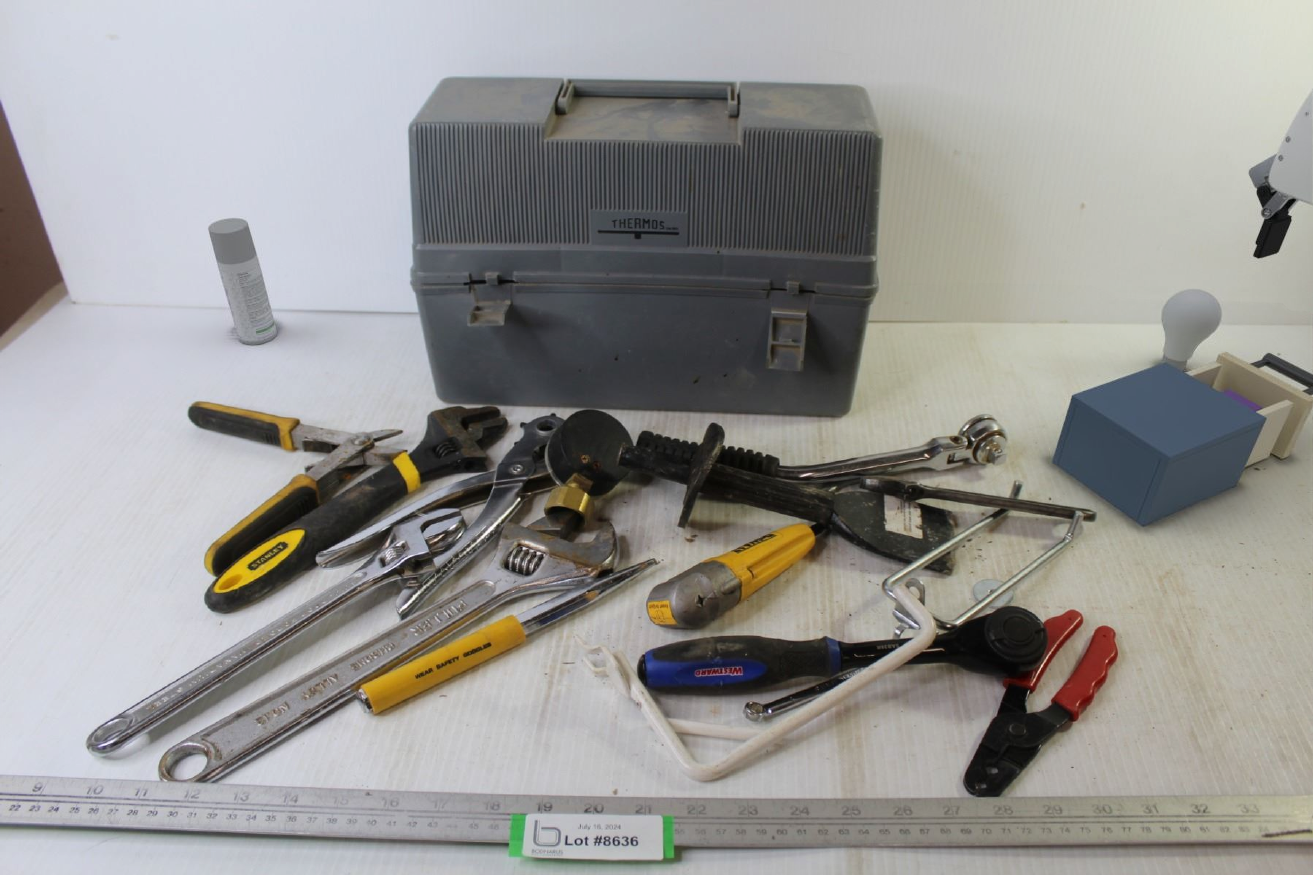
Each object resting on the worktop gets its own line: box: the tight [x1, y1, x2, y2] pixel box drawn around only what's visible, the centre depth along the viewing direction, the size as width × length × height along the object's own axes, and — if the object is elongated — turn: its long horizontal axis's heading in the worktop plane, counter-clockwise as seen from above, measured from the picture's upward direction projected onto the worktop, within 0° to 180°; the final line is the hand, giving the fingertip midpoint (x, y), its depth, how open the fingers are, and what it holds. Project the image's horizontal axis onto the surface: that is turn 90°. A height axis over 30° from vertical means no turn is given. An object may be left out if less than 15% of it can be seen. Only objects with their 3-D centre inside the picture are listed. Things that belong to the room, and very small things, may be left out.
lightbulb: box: [1160, 288, 1223, 372], centre depth 113 cm, size 6×6×11 cm
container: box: [207, 217, 278, 346], centre depth 119 cm, size 5×5×15 cm
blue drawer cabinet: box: [1051, 362, 1267, 528], centre depth 97 cm, size 14×12×9 cm
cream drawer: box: [1185, 351, 1313, 468], centre depth 102 cm, size 18×10×7 cm, turn 118°
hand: (1295, 266), depth 96 cm, fingers open, 5 cm apart
